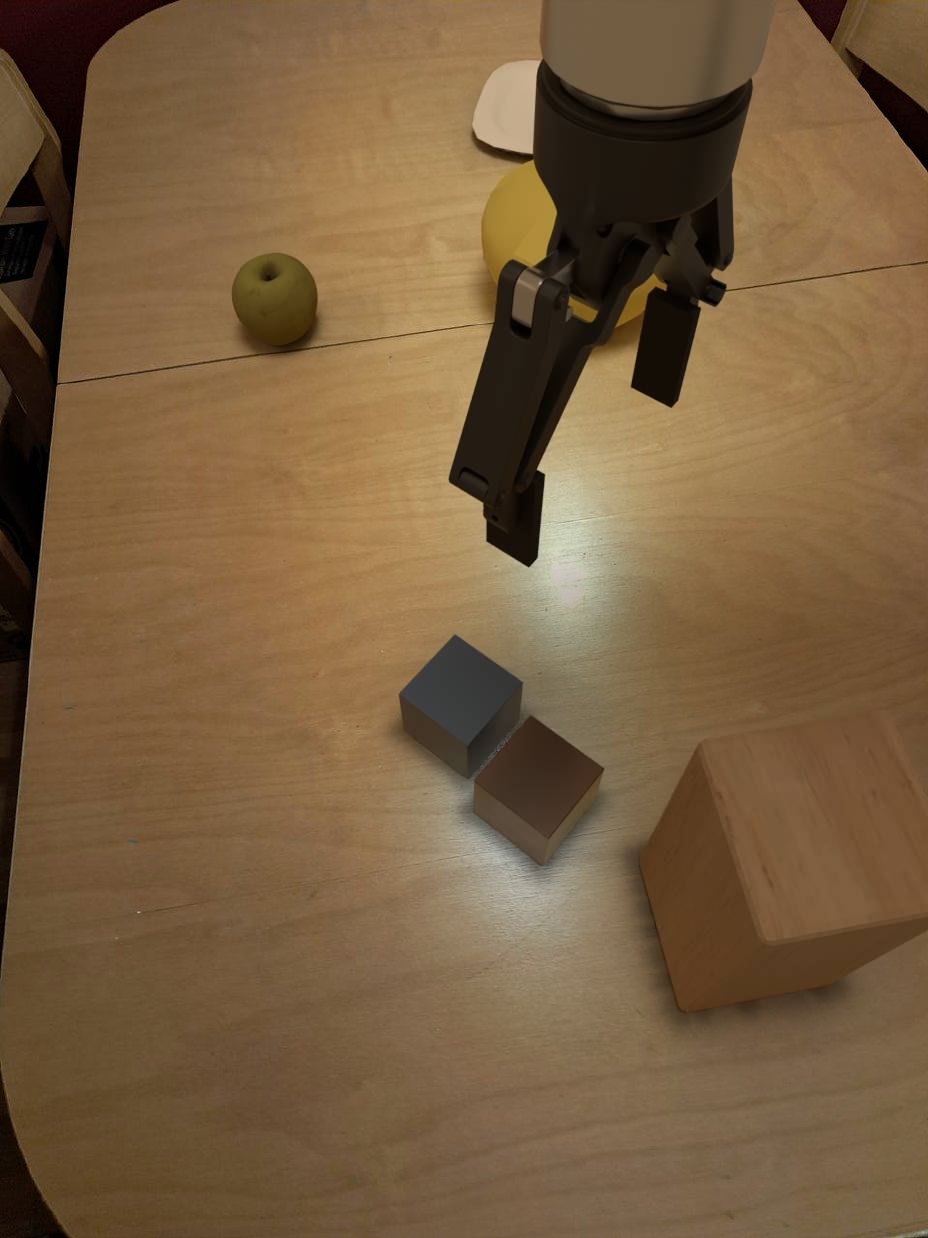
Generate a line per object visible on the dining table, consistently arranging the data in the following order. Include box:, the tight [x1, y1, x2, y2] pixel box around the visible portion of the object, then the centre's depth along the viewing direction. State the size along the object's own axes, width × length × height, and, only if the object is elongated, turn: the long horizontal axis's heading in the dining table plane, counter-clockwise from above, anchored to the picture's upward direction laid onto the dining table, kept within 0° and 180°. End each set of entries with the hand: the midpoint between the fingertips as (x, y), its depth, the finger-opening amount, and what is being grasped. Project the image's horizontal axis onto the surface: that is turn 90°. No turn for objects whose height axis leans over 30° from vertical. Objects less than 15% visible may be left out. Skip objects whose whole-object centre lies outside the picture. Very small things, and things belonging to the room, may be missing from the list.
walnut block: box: [473, 714, 605, 867], centre depth 62 cm, size 6×6×6 cm
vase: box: [480, 159, 667, 329], centre depth 83 cm, size 18×18×19 cm
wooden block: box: [638, 709, 928, 1013], centre depth 52 cm, size 10×10×20 cm
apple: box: [231, 252, 319, 346], centre depth 86 cm, size 8×8×7 cm
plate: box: [471, 59, 542, 157], centre depth 106 cm, size 18×18×2 cm
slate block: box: [398, 634, 524, 780], centre depth 66 cm, size 6×6×6 cm
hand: (586, 468), depth 50 cm, fingers open, 13 cm apart
